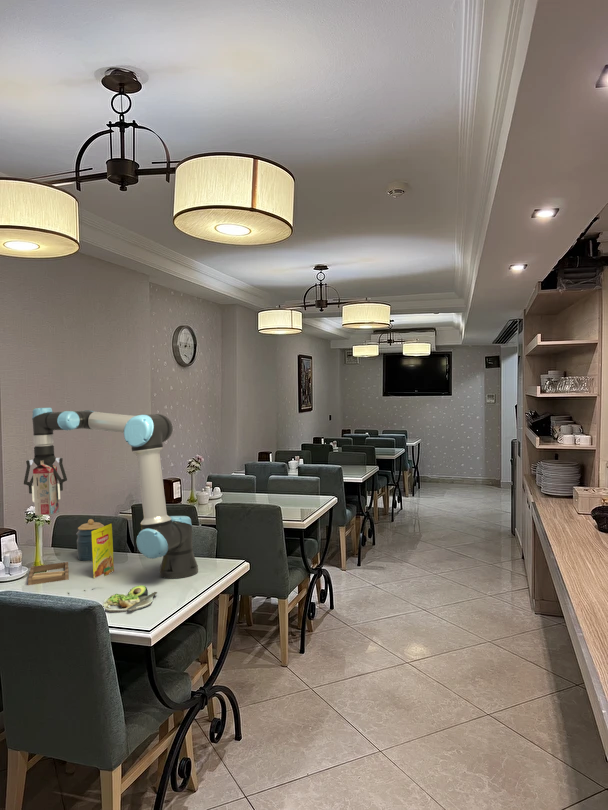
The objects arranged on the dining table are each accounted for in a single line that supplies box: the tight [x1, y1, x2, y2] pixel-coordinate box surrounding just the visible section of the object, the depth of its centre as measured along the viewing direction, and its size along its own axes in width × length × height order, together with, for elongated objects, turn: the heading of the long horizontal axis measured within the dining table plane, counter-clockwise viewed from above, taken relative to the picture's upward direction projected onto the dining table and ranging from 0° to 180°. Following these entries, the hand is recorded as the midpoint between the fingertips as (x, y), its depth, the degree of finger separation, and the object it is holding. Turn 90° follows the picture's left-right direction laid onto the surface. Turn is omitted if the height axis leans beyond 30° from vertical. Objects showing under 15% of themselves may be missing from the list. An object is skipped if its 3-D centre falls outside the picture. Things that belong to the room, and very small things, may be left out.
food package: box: [91, 522, 115, 579], centre depth 239 cm, size 15×1×20 cm, turn 168°
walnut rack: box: [27, 561, 70, 586], centre depth 238 cm, size 21×14×4 cm
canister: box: [75, 518, 105, 562], centre depth 271 cm, size 13×13×18 cm
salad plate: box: [102, 584, 158, 613], centre depth 202 cm, size 19×18×5 cm
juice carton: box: [32, 460, 60, 516], centre depth 242 cm, size 7×7×22 cm
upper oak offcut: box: [32, 570, 65, 580], centre depth 233 cm, size 5×11×2 cm, turn 100°
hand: (46, 500), depth 242 cm, fingers closed on juice carton, 9 cm apart
